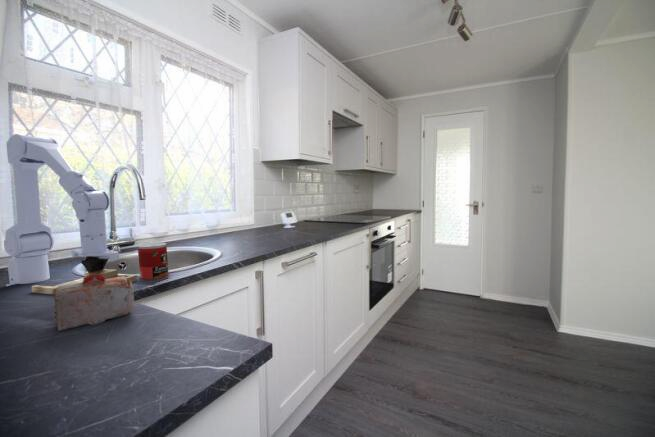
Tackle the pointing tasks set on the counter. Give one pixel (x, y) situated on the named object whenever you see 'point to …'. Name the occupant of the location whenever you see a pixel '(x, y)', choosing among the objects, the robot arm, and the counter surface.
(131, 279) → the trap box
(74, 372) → the counter surface
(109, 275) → the beige cube
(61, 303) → the food item
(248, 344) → the counter surface
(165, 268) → the canned food
